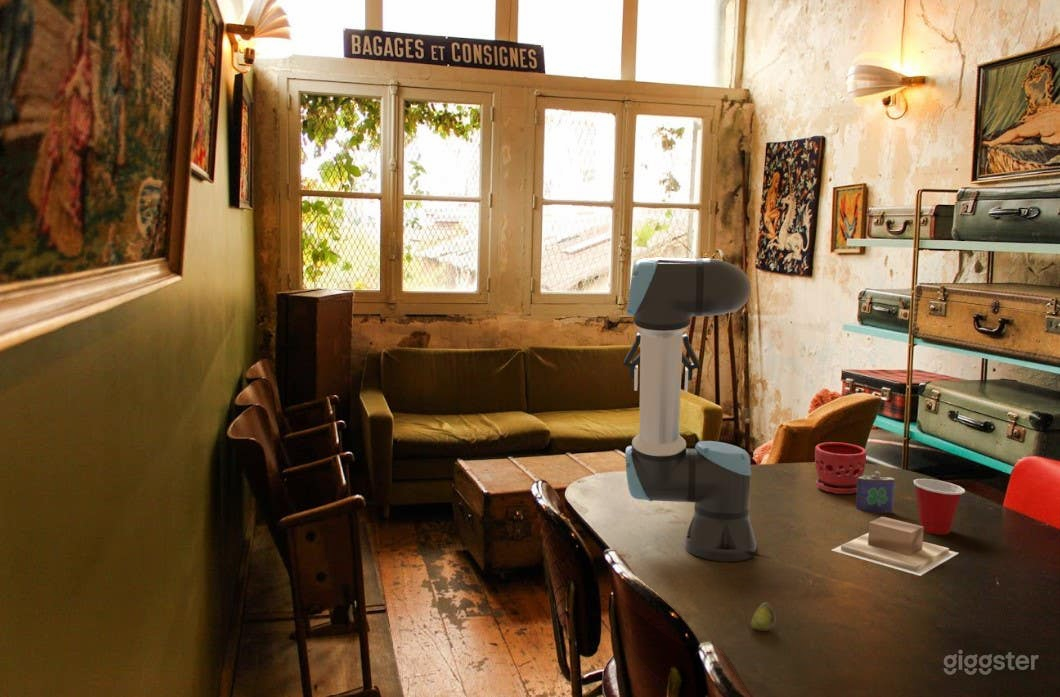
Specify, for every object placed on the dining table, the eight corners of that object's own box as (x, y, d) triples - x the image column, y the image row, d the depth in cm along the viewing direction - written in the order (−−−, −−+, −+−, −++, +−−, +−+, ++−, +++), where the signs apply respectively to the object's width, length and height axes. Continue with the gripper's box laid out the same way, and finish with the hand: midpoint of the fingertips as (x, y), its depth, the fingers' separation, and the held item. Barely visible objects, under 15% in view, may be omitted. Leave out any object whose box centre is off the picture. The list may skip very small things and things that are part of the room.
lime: (750, 635, 142) (751, 607, 141) (748, 622, 147) (749, 595, 146) (777, 637, 141) (778, 609, 141) (774, 624, 146) (775, 597, 145)
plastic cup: (968, 544, 187) (972, 491, 185) (916, 540, 189) (919, 489, 187) (954, 528, 197) (957, 479, 196) (905, 525, 199) (908, 476, 198)
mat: (919, 580, 166) (920, 575, 166) (830, 554, 180) (830, 550, 180) (958, 557, 178) (958, 553, 178) (872, 534, 192) (872, 530, 192)
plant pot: (803, 486, 232) (805, 444, 230) (838, 481, 237) (840, 440, 236) (838, 499, 220) (840, 455, 219) (875, 493, 225) (877, 450, 224)
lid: (915, 571, 168) (917, 542, 167) (840, 550, 180) (842, 523, 179) (948, 552, 178) (950, 525, 178) (876, 533, 190) (877, 508, 189)
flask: (891, 511, 210) (893, 469, 209) (895, 515, 207) (898, 473, 206) (854, 510, 210) (856, 469, 209) (858, 514, 207) (860, 472, 206)
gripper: (710, 313, 221) (707, 385, 230) (616, 311, 225) (616, 381, 234) (711, 324, 214) (707, 397, 223) (614, 321, 218) (614, 393, 227)
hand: (660, 389), depth 228 cm, fingers open, 13 cm apart
